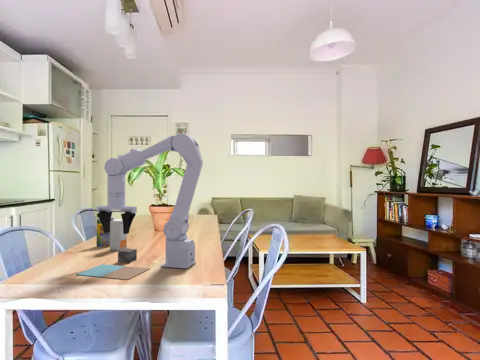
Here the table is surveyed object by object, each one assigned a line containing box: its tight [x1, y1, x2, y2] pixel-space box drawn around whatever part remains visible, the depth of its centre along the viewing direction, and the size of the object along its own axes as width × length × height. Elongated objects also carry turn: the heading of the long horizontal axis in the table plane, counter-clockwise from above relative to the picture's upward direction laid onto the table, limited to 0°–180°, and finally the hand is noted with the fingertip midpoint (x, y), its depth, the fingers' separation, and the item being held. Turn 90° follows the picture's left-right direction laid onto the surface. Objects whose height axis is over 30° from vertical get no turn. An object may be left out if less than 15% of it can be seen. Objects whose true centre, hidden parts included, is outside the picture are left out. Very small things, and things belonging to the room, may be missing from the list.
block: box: [117, 248, 138, 264], centre depth 117 cm, size 4×4×4 cm
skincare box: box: [109, 218, 128, 251], centre depth 136 cm, size 6×4×12 cm
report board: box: [75, 263, 151, 281], centre depth 103 cm, size 18×12×1 cm, turn 75°
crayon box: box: [96, 217, 114, 248], centre depth 142 cm, size 7×3×12 cm, turn 132°
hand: (116, 233), depth 113 cm, fingers open, 7 cm apart
